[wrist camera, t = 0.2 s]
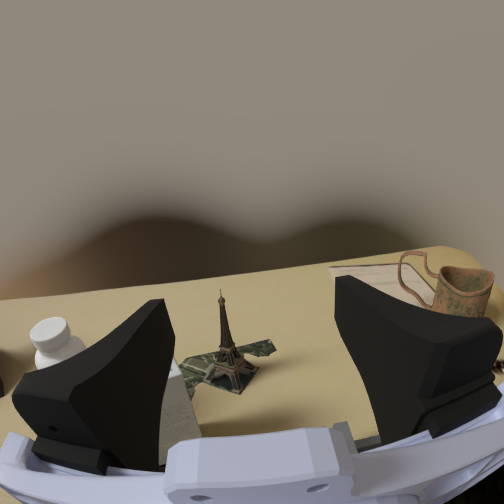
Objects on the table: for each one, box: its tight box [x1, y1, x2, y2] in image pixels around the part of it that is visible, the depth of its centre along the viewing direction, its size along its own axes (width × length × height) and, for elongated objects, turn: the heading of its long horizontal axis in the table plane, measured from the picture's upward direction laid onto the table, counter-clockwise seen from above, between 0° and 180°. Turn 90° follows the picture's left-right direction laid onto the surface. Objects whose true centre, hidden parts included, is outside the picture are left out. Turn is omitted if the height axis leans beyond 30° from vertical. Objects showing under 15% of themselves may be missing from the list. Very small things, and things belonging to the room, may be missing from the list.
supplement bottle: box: [30, 317, 86, 370], centre depth 27 cm, size 7×7×13 cm
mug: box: [398, 251, 495, 317], centre depth 39 cm, size 12×18×12 cm, turn 56°
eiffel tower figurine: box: [179, 289, 276, 401], centre depth 35 cm, size 15×10×13 cm
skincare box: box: [159, 356, 203, 465], centre depth 23 cm, size 6×4×12 cm
